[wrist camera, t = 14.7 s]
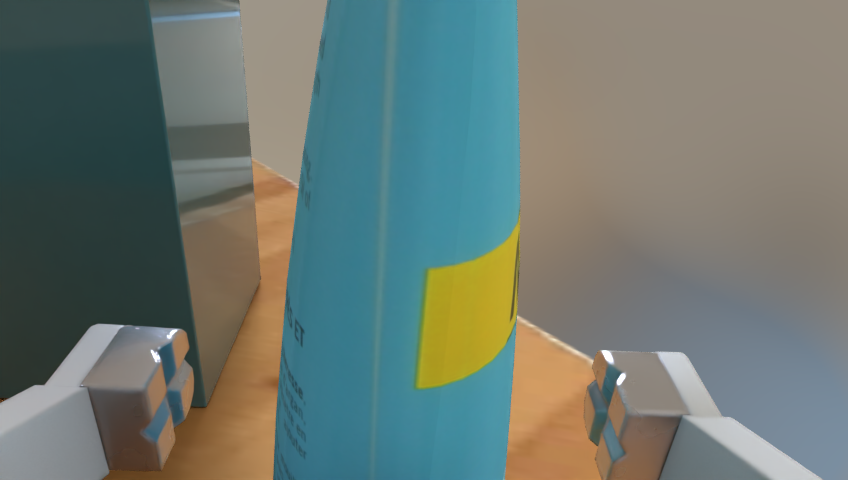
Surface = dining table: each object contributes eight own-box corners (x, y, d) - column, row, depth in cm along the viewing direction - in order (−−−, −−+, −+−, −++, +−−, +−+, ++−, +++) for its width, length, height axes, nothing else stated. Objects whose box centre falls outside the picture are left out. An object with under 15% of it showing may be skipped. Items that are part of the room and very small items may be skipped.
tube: (513, 896, 12) (1027, -511, 3) (263, 949, 11) (-78, -760, 2) (442, 552, 19) (539, -238, 9) (279, 571, 18) (209, -275, 9)
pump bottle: (-65, 396, 23) (-316, -190, 14) (67, 261, 31) (-39, -157, 23) (206, 408, 23) (124, -158, 15) (264, 271, 32) (234, -137, 23)
